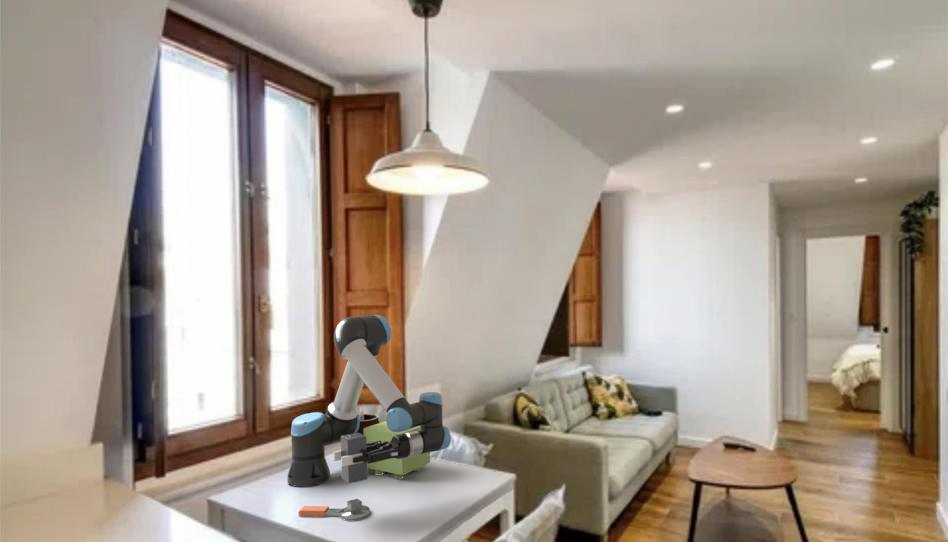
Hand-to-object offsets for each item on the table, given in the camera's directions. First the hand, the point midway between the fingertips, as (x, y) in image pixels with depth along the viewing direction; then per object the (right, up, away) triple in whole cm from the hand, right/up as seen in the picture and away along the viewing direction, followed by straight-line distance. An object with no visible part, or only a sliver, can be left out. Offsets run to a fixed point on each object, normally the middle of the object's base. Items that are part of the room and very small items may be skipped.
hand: (337, 459), depth 166 cm
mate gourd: (-4, -20, +59) cm, 63 cm away
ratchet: (-2, -18, +3) cm, 18 cm away
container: (+12, -19, +42) cm, 48 cm away
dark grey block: (+4, -7, +3) cm, 9 cm away
